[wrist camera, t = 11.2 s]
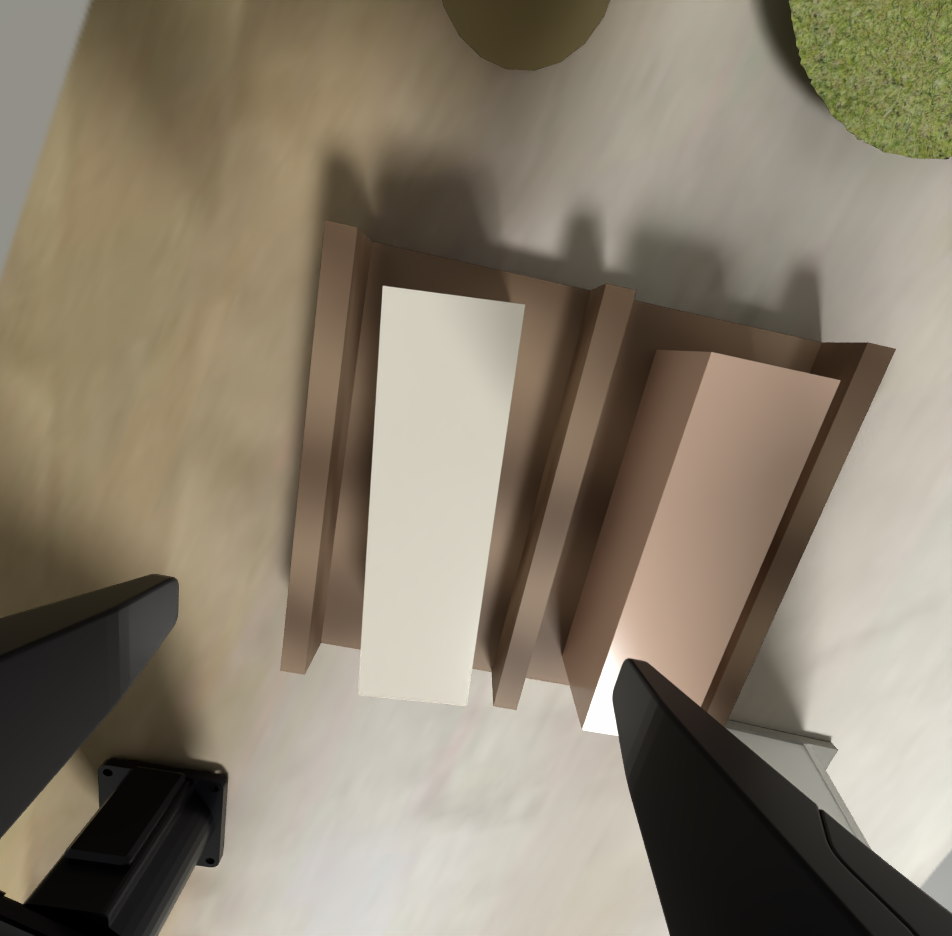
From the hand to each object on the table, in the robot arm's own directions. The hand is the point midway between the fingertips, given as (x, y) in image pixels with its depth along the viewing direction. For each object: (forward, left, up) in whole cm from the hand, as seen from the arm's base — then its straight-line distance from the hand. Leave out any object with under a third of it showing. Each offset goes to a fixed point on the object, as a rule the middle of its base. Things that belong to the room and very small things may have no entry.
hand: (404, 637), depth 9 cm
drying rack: (0, -4, -11) cm, 12 cm away
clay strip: (0, 0, -10) cm, 10 cm away
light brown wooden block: (0, -9, -10) cm, 13 cm away
